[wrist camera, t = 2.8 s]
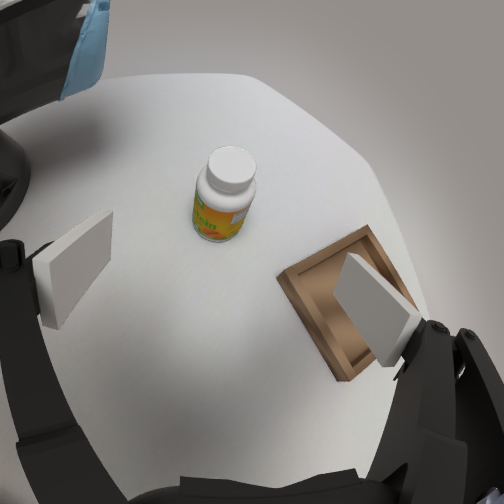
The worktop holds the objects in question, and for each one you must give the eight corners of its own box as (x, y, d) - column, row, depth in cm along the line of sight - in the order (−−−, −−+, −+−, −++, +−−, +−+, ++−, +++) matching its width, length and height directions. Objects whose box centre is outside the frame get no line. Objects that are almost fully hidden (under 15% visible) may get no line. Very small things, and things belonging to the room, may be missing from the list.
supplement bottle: (181, 217, 30) (185, 158, 21) (218, 191, 32) (233, 131, 24) (215, 253, 29) (231, 202, 21) (251, 223, 32) (277, 169, 23)
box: (276, 278, 30) (284, 270, 28) (356, 233, 35) (367, 224, 33) (337, 381, 27) (349, 381, 25) (407, 318, 32) (420, 314, 30)
